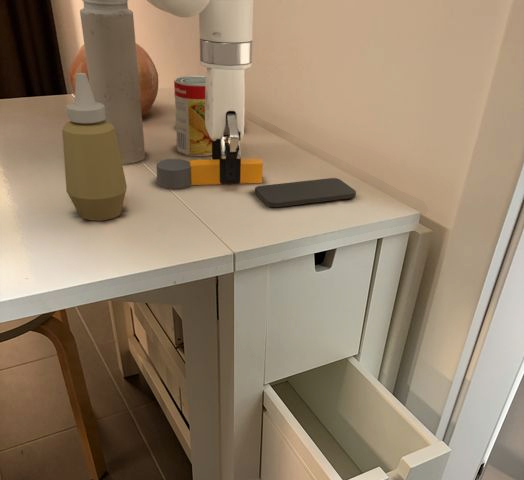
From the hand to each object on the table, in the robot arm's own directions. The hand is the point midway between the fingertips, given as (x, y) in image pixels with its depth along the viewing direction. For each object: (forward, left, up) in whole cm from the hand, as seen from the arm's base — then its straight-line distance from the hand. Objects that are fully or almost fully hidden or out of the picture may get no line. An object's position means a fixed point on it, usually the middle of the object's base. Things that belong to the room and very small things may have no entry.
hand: (225, 173), depth 90 cm
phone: (+5, -13, -1) cm, 14 cm away
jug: (+13, +44, -2) cm, 46 cm away
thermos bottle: (-4, +21, -2) cm, 22 cm away
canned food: (+9, +15, -2) cm, 17 cm away
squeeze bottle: (-22, +3, -2) cm, 23 cm away
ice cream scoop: (-2, +2, -1) cm, 3 cm away
